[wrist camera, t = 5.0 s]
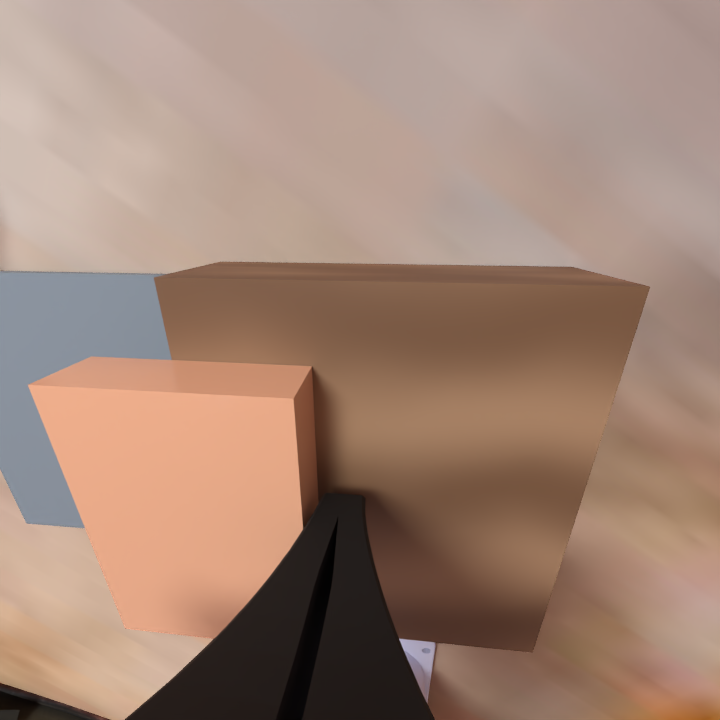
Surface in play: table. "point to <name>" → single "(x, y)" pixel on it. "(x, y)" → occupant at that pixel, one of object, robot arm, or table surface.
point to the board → (436, 414)
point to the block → (184, 479)
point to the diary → (37, 707)
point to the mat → (62, 365)
